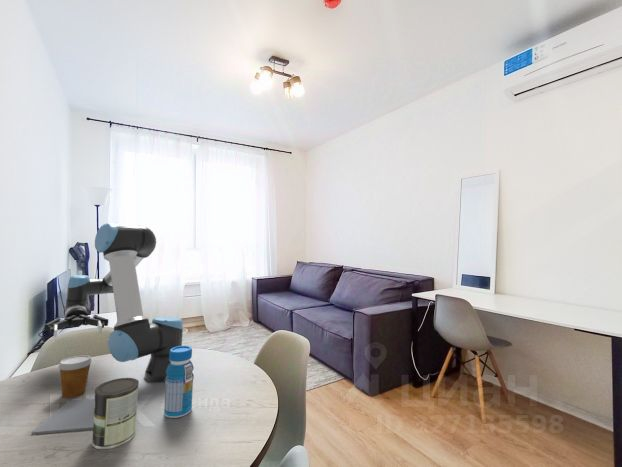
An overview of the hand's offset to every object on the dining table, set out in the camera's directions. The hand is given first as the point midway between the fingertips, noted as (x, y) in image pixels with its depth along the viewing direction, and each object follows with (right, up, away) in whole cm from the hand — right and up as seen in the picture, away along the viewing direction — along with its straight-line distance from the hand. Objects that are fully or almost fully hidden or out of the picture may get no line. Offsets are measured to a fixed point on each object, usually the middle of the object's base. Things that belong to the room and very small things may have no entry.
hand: (78, 331), depth 113 cm
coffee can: (+34, -19, -31) cm, 50 cm away
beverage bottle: (+45, -20, -17) cm, 53 cm away
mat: (+17, -19, -20) cm, 33 cm away
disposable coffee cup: (+4, -20, -7) cm, 22 cm away
